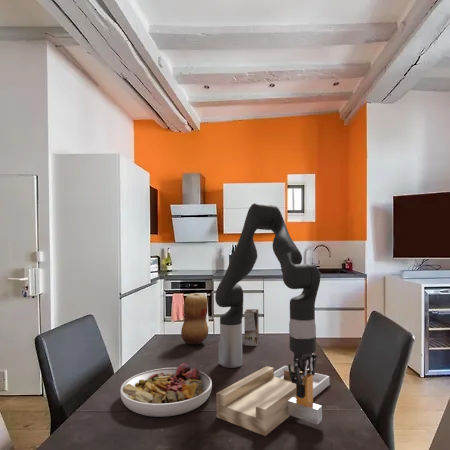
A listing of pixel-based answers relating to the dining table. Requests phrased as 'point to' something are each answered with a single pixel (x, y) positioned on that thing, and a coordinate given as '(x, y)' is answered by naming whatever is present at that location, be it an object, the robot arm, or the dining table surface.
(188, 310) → the butternut squash
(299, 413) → the scraper
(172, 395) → the bowl
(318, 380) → the tray
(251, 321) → the coffee box
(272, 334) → the dining table surface
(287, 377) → the brown wooden cube
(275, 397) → the channel board
